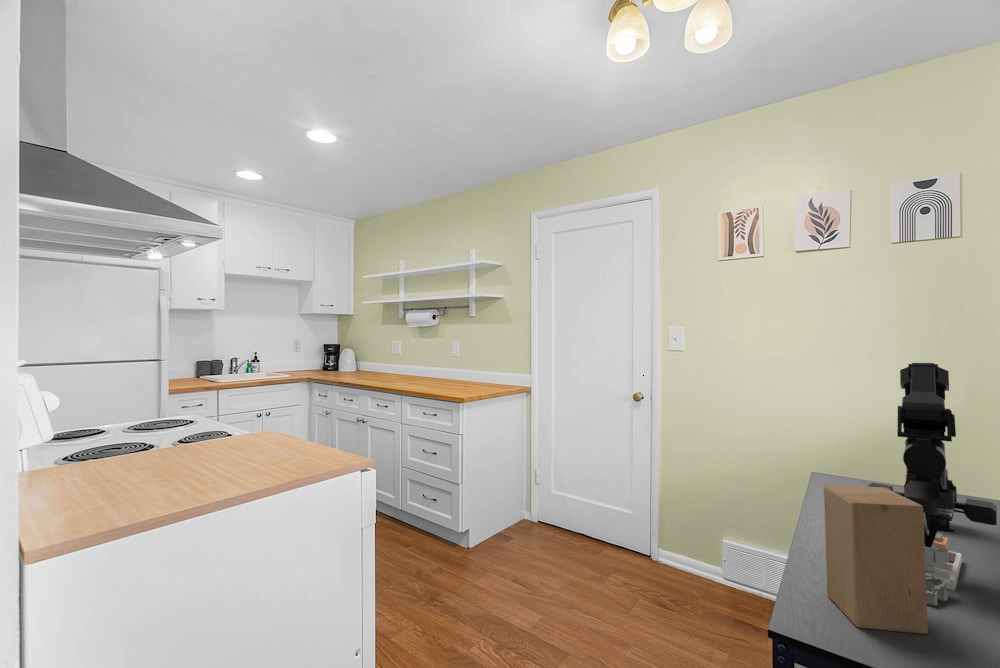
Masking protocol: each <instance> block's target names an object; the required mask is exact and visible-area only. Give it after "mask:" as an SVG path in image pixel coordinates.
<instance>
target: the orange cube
mask: <svg viewBox="0 0 1000 668" xmlns="http://www.w3.org/2000/svg"><path fill="white" fill-rule="evenodd" d="M928 535H929V530H928ZM933 544H936V545H939V546H941V547H944V548H946V549H947V551H949V538H948V537H944V536H943V534H942V533H938V532H937V534H936V536H935V539H934V541H933ZM948 563H950V561H949V554H948Z"/></svg>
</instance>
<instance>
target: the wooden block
mask: <svg viewBox="0 0 1000 668" xmlns="http://www.w3.org/2000/svg"><path fill="white" fill-rule="evenodd" d="M893 491H894V490H893ZM893 491H891V490H889V489H887V488H885V487H867V486H865V485H864V486H860V485H859V486H858V485H834V484H826V485H824V486H823V493H824V494H823V496H824V497H823V498H824V499H823V501H824V526H825V527H824V529H825V530H824V531H825V561H826V563H825V564H826V566H825V567H826V589H827V590H826V592H827V596H828V598H829V599H830V600H831V601H832V603H834V604H835V605H836V607H838V608H839V610H840V611H841V612H842V613H843V614H844V615H845V616H846V617H847V618H848V620H850V621H851V623H852V624H854V626H855V627H857V628H860V629H871V630H879V631H880V630H881V631H890V632H891V631H892V632H901V633H910V634H911V633H912V634H922V635H927V634H928V633H929V628H928V626H929V625H928V604H927V594H926V568H925V542H924V516H923V507H922V505H920V504H918V503H916V502H914V501H912V500H909V499H907V498H905V497H903V496H901V495H899V494H897V493H895V492H893Z"/></svg>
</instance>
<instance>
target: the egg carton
mask: <svg viewBox="0 0 1000 668" xmlns="http://www.w3.org/2000/svg"><path fill="white" fill-rule="evenodd" d="M949 581H950V579H943V578H940V577H934V576H933V575H931V574H930V575H928V574H927V573H926V594H927V605H931V606H934V607H935V606H938V605H939V603H938V599H939V601H943V602H945V601H948V589H947V587H946V585H947V586H948V583H949Z"/></svg>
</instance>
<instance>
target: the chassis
mask: <svg viewBox="0 0 1000 668" xmlns="http://www.w3.org/2000/svg"><path fill="white" fill-rule="evenodd" d="M948 554H949V563H948V562H947V563H946V564H937V563H934V562H933V563H931V562H927V561H925V568H926V573H927V574H928V575H930V574H931V575H933V576H934V577H940V578H943V579H950V581H949V583H948V586H947V585H946V587H947V590H948V589H949V590H952V591H956V587H957V584H958V579H959V576H960V571H961V567H962V562H963V561H962V558H963V557H962V553H960V552H955V551H951V550H948ZM951 562H952V563H951Z"/></svg>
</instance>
